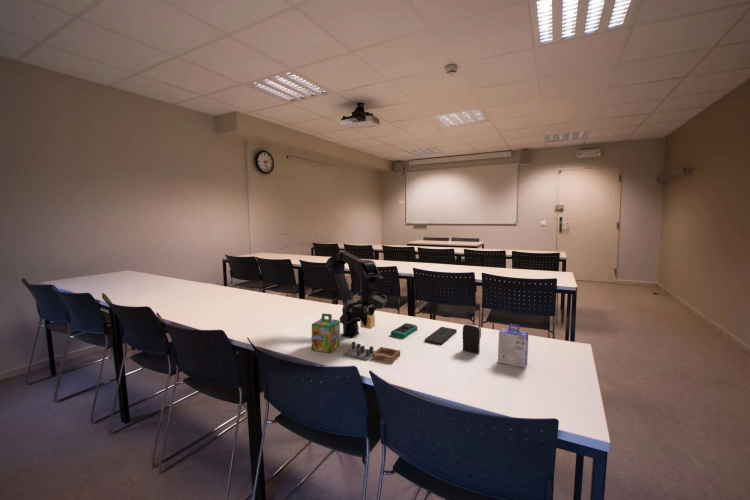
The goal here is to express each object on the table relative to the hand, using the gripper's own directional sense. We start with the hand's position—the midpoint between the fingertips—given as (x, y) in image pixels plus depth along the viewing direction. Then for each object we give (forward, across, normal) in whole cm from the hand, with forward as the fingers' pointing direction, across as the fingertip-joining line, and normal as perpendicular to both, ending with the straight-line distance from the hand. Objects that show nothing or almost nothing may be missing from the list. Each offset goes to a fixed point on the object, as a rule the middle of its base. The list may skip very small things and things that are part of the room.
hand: (367, 324), depth 143 cm
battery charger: (+9, +11, -43) cm, 45 cm away
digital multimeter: (+9, +19, -10) cm, 23 cm away
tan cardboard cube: (+1, 0, 0) cm, 1 cm away
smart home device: (+9, +22, -27) cm, 36 cm away
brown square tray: (+8, -10, -14) cm, 19 cm away
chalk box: (+9, -13, +13) cm, 20 cm away
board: (+8, -12, -3) cm, 15 cm away
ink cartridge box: (+9, +7, -59) cm, 60 cm away
